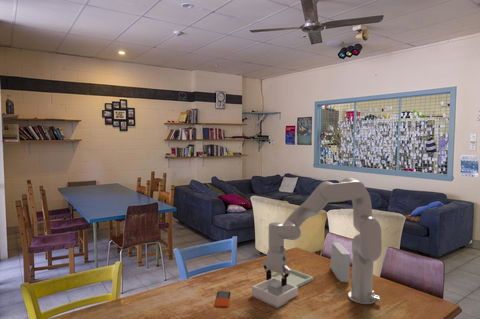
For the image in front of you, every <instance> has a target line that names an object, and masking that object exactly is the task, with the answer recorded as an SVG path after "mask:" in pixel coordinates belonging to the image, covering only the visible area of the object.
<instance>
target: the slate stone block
mask: <svg viewBox="0 0 480 319" xmlns="http://www.w3.org/2000/svg"><path fill="white" fill-rule="evenodd" d="M268 292H269V293H271V294H273V295H276V296H278V295H280V294H282V285H281V284H279V283H277V282H272V283H270V284H268Z"/></svg>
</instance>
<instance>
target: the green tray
mask: <svg viewBox="0 0 480 319" xmlns="http://www.w3.org/2000/svg"><path fill="white" fill-rule="evenodd" d="M288 268H289V269H290V270H291V273H290V275H289V276H288V277H287V283H289V284H292V285H294V286H297V287H298V289H299V288H300V287H303V286H305V285H306V284H309V283H311V282H312V281H314V276H312V275H310V274H307V273H303V272H301V271H299V270H295V269H292V268H290V267H288ZM286 273H287V271H286ZM283 274H284V273H283ZM272 277H275V278H277V279H280V280H281V279H282V276H281V274H280V273H277V272H273V273H271V278H272Z"/></svg>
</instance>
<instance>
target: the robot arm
mask: <svg viewBox="0 0 480 319" xmlns="http://www.w3.org/2000/svg"><path fill="white" fill-rule="evenodd" d="M345 201H351V202H352V211H353V212H352V214H353V218H352V219H353V223H352V224H353V227H354V229H355V230H356V231H357V232H359V233H358V234H356V235H355V236H353V238H352V240H351V241H352V242H351V251H352V265H351V266H352V268H351V269H352V270H351V290H350V291H349V292H348V293H347V297H348V298H349V300H351V301H353V302H354V303H356V304H360V305H361V304H362V305H372V304H374V303H375V302H377V303H381V297H380V295H377V294H375V290H373V282H374V262H375V261H377V260H379V259H380V257H381V255H382V248H383V247H382V245H383V244H382V226H381V225H380V222H379V221H378V219H376V218H375V217H374V216H373V208H372V207H373V206H372V200H371V196H370V193H369V192H368V190H367V189H366V186H365V184H364V183H363V182H362V181H360V180H359V179H355V178H353V177H346V178H343V179H342V180H341V182H335V183H333V182H331V181H327V180H325V181H322V182H321V183H319V185H318V186H317V187H316V188H315V189H314V190H313V191H312V192H311V194H310V195H309V196H308V197H307V199H306V200H305V201H304V202H303V203H301V204H300V205H299V206H298V207H296V209H295V210H293V211H292V212H291V214H290V215H289V216H288V217H287V218H286V219H285V221H284V222H283V223H281V222H277V221H276V222H271V223H269V224H268V249H267V253H266V260H263V261H262V265H263V269H264V272H265V276H266V277H265V280H269V279H271V274H272V272H273V273H275V272H277V273H280V274H281V276H282V279H281V285H282V286H285V285H287V277H288V276H289V275H290V273H291V270H290V269H291V268H290V267H289V266H288V259H287V258H288V257H287V253H286V248H285V240H288V241H289V240H290V241H296V240H298V239H299V238H301V236H302V231H301V228H300V226H302V224H303V223H305V221H307V220H308V219H309V218H312V217H315V216H317V215H319V214H320V212H321V211H322V210H323V209H324V208H325V207H326V205H327V204H328V203H329V202H330V203H331V202H332V203H336V202H345ZM289 268H290V269H289ZM286 271H287V273H286ZM283 273H284V274H283Z"/></svg>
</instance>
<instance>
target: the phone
mask: <svg viewBox="0 0 480 319" xmlns="http://www.w3.org/2000/svg"><path fill="white" fill-rule="evenodd" d="M230 299H231V291H224V290H219V291H217V294H216V298H215V302H214V306H213V307H214V308H229V305H230Z"/></svg>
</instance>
